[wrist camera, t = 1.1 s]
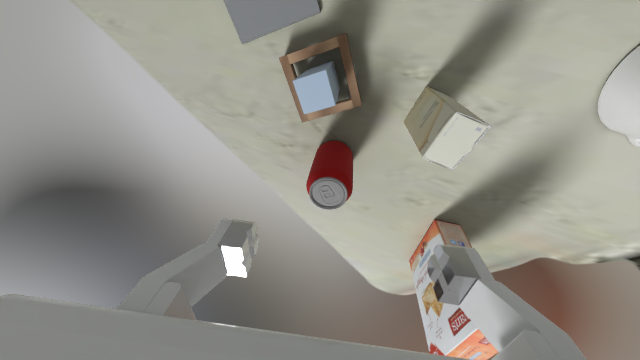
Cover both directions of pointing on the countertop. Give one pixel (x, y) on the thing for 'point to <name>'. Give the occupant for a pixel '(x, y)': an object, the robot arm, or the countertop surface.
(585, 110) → the countertop surface
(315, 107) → the peg
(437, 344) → the cracker box
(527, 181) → the countertop surface
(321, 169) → the beverage can
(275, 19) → the mat
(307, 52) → the wooden square frame
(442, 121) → the skincare box
